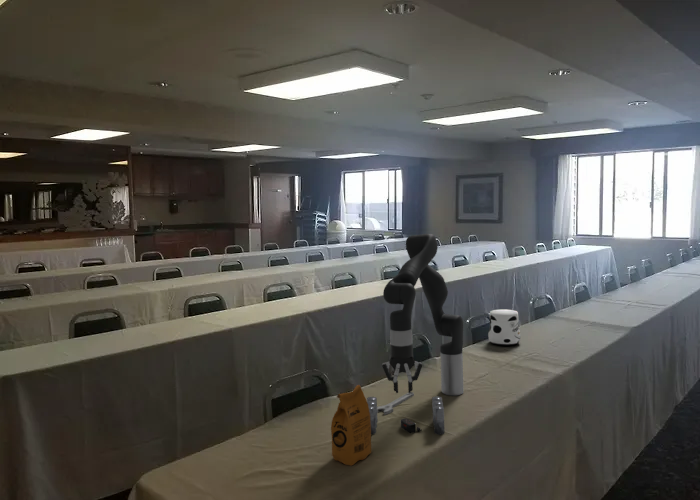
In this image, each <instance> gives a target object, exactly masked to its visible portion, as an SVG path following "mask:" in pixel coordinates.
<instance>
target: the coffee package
mask: <svg viewBox="0 0 700 500" xmlns="http://www.w3.org/2000/svg"><path fill="white" fill-rule="evenodd" d="M336 398H337V399H338V400H339V403H338V406H337V410H336V411H335V413H334V415H333V417H332V419H331V425H330V426H331V427H330V431H331V434H330V435H331V456H332V458H333V460H334V461H338V462H339V463H342V464H344V465H346V466H353V465H355V464H356V463H357V462H358V461H362V460H363V461H364V460H365V459H366V458H367V457H368V456H369V455H370V454H372V434H371V423H370V413H369V407H368V403H367V398H366V397H365V394H364V392H363V389H362V387H361V385H360V384H357V385H356V386H355V387H354V388H353V390H352V391H350V392H343V393H338V394H337V395H336Z"/></svg>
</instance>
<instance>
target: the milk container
mask: <svg viewBox="0 0 700 500" xmlns="http://www.w3.org/2000/svg"><path fill="white" fill-rule="evenodd" d="M519 317H520V316H519V312H518V311H517V310H513V309H506V308H505V309H493V310H490V311H489V329H488V334H487V336H488V340H489V342H490V343H492V344H493V345H497V346H502V347H503V346H512V345H513V346H514V345H517V344H519V343H520V341H521V331H520V327H519Z"/></svg>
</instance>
